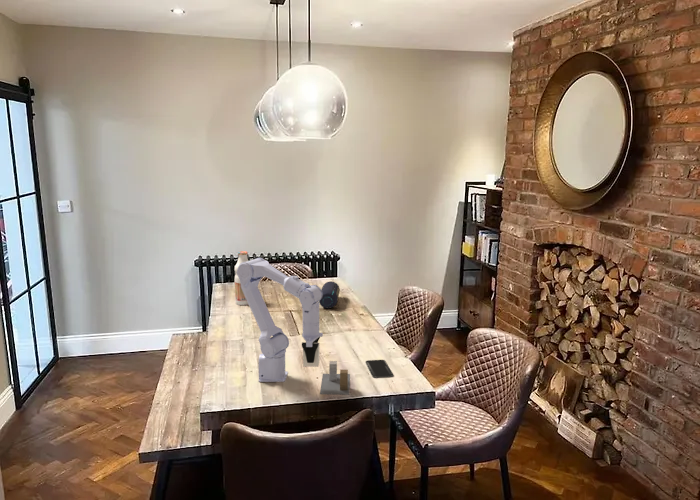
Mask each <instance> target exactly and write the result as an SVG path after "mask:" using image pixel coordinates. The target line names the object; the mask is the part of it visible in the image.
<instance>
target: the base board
mask: <svg viewBox="0 0 700 500" xmlns="http://www.w3.org/2000/svg"><path fill="white" fill-rule="evenodd" d="M350 380H351V374H350V373H348V390H340V373H337V381H329V373H322V375H321V384H320V390H319V395H328V396H329V395H331V396H332V395H337V396H343V395H344V396H345V395H346V396H350V392H351V391H350V385H351V381H350Z"/></svg>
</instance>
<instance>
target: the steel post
mask: <svg viewBox="0 0 700 500" xmlns="http://www.w3.org/2000/svg"><path fill="white" fill-rule="evenodd" d="M328 365H329V367H328V368H329V369H328V370H329V371H328V374H329V381H337V374H338V362H337V360H330V361H329V364H328Z"/></svg>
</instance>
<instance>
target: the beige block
mask: <svg viewBox="0 0 700 500" xmlns="http://www.w3.org/2000/svg"><path fill="white" fill-rule="evenodd" d="M314 344H319V345H318V347H317V349H316V352H315V359H314V363H307V359H306V355H305V351H304V349H303V348H302V367H304V368H305V367H306V368H307V367H308V368H309V367H310V368H311V367H312V368H316V367H317V368H318V367H319V366H320V365H319V364H320V342H318V343H314Z"/></svg>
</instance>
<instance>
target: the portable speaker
mask: <svg viewBox="0 0 700 500" xmlns="http://www.w3.org/2000/svg"><path fill="white" fill-rule="evenodd" d="M320 289H321V290H322V294H323V295H322V298H321V300H320V301H318V302H319V306H321V307H322V308H324V309H332V308H333V307H335V306H336V305H337V303H338V299H339V295H340V290H341V289H340V286H339V284H338V283H337V282H335V281H327V282H325V283H324V284H323V286H322V288H320Z"/></svg>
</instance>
